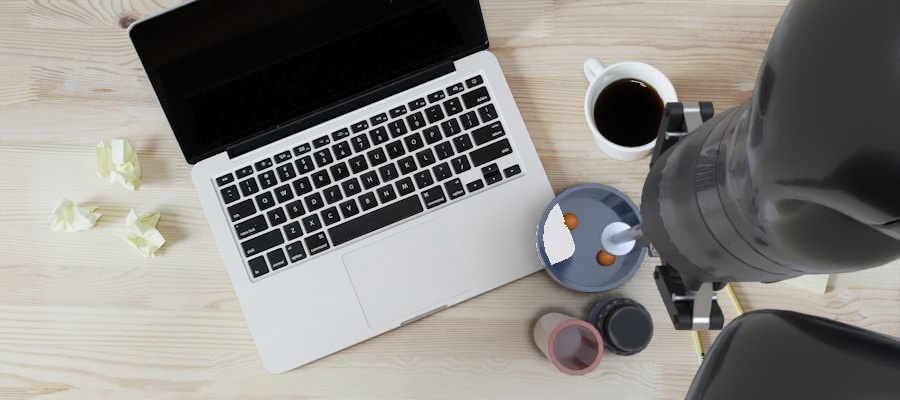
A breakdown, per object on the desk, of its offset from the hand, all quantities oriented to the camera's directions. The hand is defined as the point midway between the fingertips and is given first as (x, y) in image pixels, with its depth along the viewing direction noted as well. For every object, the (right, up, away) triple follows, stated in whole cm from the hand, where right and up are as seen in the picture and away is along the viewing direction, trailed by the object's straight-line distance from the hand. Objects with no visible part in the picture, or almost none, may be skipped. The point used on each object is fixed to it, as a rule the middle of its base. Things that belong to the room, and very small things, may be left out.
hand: (655, 226), depth 50 cm
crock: (-2, -14, +37) cm, 39 cm away
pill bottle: (+5, -13, +37) cm, 39 cm away
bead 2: (+4, -5, +36) cm, 37 cm away
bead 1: (0, -1, +37) cm, 37 cm away
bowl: (+2, -3, +38) cm, 38 cm away
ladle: (+1, -2, +15) cm, 15 cm away
